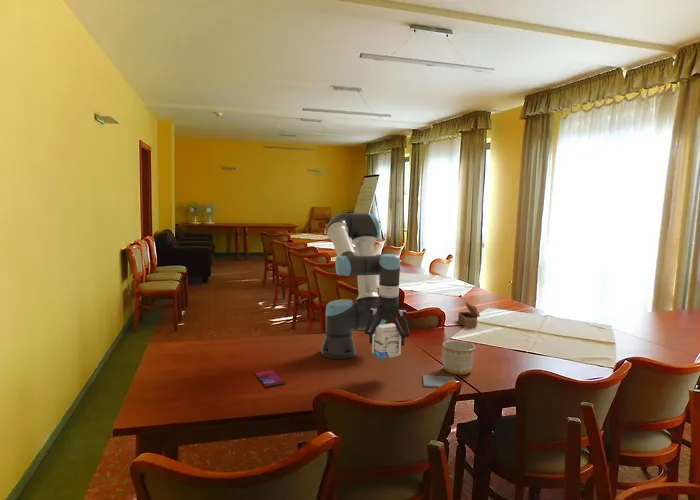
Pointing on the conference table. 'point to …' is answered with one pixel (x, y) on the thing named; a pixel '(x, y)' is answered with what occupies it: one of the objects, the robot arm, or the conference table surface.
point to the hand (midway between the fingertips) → (386, 352)
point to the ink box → (386, 341)
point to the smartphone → (269, 379)
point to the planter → (458, 357)
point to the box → (469, 316)
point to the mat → (435, 380)
